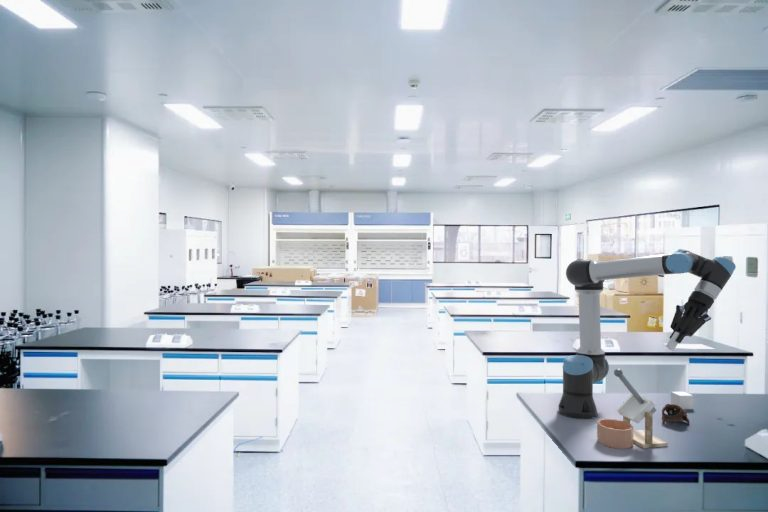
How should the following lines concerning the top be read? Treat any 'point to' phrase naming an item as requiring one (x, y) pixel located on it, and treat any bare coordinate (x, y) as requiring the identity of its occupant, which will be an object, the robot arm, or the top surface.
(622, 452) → the top surface
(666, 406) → the dark brown skull
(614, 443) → the terracotta round bowl
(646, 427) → the lever stand
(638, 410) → the lever
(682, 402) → the white cube
